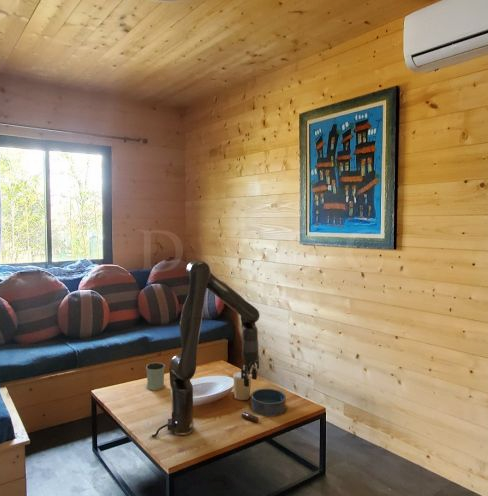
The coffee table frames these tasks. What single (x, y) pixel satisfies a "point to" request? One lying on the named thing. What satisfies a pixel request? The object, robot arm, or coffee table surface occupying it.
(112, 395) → the coffee table surface
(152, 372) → the green cylindrical pot
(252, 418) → the stick
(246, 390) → the coffee cup
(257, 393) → the bowl
